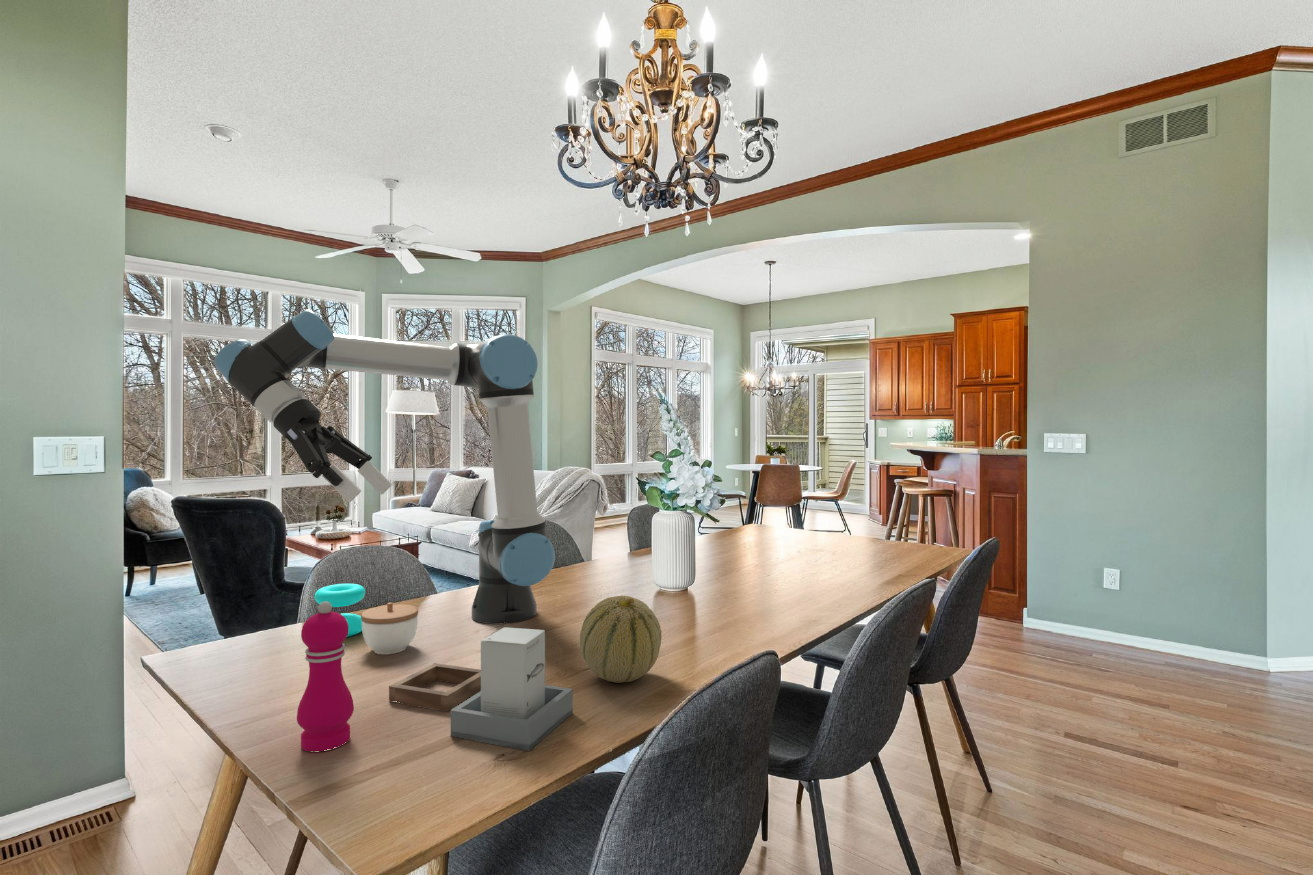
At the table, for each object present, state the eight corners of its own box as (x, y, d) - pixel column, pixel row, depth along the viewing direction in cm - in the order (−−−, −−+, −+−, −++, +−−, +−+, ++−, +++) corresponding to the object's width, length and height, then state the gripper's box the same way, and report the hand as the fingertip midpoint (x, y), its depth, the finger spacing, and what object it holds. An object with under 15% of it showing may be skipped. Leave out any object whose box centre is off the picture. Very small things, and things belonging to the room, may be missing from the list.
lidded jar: (428, 648, 134) (427, 602, 134) (375, 662, 126) (375, 613, 126) (403, 637, 141) (403, 593, 141) (352, 649, 133) (351, 603, 133)
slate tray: (501, 701, 108) (501, 678, 108) (572, 712, 103) (572, 688, 103) (450, 736, 96) (450, 710, 96) (529, 750, 91) (529, 723, 91)
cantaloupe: (609, 659, 128) (609, 581, 127) (676, 673, 120) (676, 591, 120) (561, 685, 115) (561, 598, 115) (633, 702, 107) (632, 610, 107)
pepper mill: (310, 731, 97) (309, 595, 97) (361, 729, 98) (360, 594, 98) (287, 755, 90) (286, 609, 90) (342, 753, 91) (341, 607, 90)
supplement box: (525, 731, 95) (524, 644, 95) (479, 725, 97) (478, 639, 97) (546, 710, 103) (546, 629, 102) (503, 705, 104) (503, 625, 104)
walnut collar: (434, 676, 119) (434, 662, 119) (489, 685, 115) (489, 670, 115) (389, 701, 108) (388, 686, 108) (447, 711, 104) (447, 695, 104)
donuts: (317, 584, 147) (366, 580, 151) (318, 628, 148) (366, 624, 151) (311, 594, 138) (363, 590, 141) (311, 642, 138) (363, 637, 142)
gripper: (310, 426, 134) (385, 500, 134) (231, 425, 109) (323, 516, 109) (336, 399, 134) (411, 473, 134) (263, 393, 109) (355, 484, 109)
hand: (372, 493), depth 122 cm, fingers open, 13 cm apart
